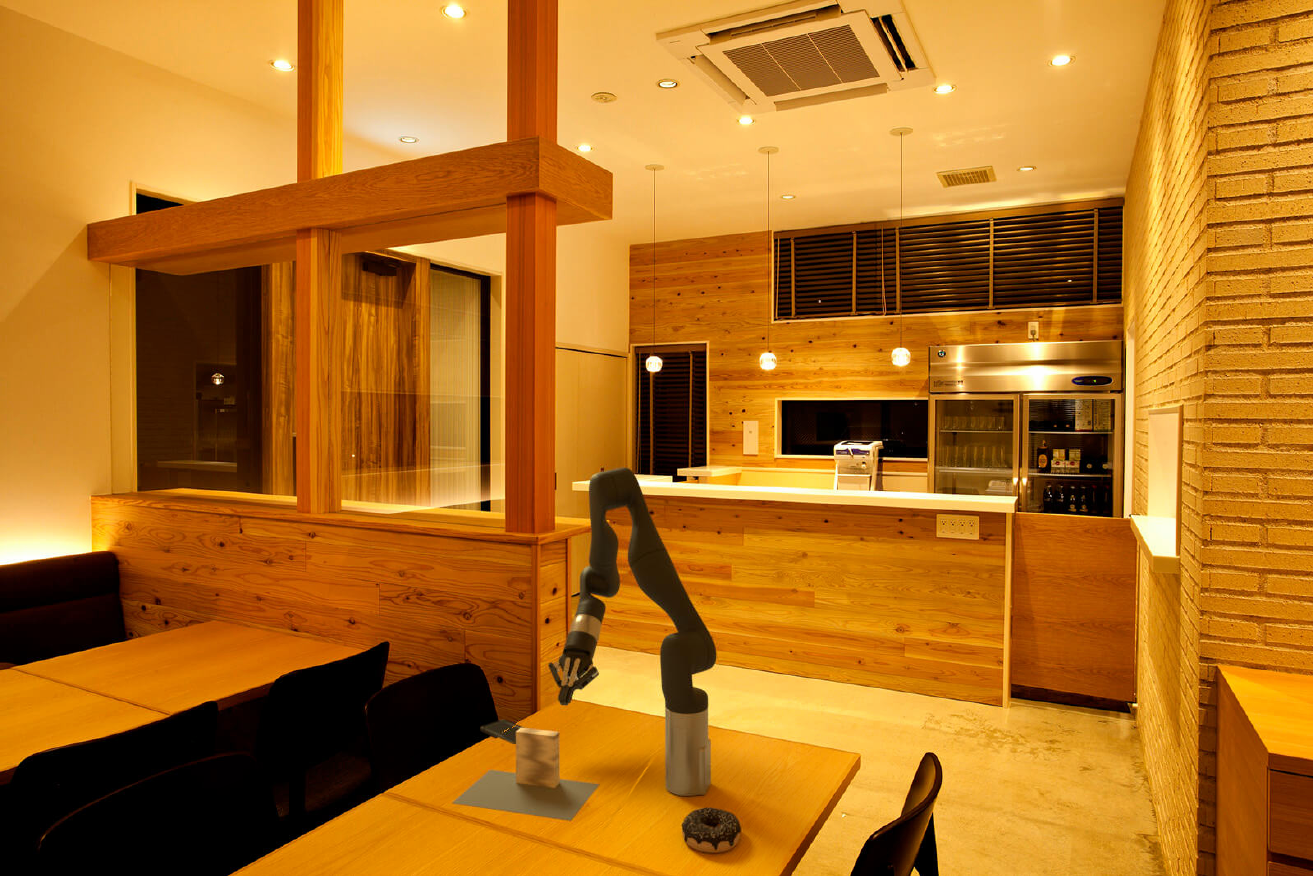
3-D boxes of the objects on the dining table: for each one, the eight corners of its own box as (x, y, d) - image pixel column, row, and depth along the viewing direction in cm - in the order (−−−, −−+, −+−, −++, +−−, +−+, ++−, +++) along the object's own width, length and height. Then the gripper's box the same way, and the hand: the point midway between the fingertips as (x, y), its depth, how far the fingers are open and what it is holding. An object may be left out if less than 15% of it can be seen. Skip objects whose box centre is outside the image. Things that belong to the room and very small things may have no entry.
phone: (504, 719, 204) (540, 734, 193) (504, 723, 204) (540, 738, 193) (478, 727, 198) (514, 743, 188) (478, 732, 198) (514, 748, 188)
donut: (737, 823, 151) (737, 803, 151) (745, 857, 139) (745, 835, 139) (680, 824, 151) (680, 803, 151) (683, 858, 139) (683, 835, 139)
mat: (599, 786, 166) (599, 784, 166) (570, 823, 151) (570, 820, 151) (490, 772, 174) (490, 769, 174) (451, 805, 158) (451, 803, 158)
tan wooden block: (560, 782, 167) (559, 731, 167) (554, 788, 165) (554, 736, 165) (521, 777, 170) (521, 727, 170) (516, 782, 167) (515, 731, 167)
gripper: (553, 627, 191) (532, 693, 180) (604, 631, 188) (585, 699, 176) (562, 643, 196) (541, 708, 185) (611, 647, 193) (594, 714, 181)
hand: (563, 704), depth 180 cm, fingers closed
